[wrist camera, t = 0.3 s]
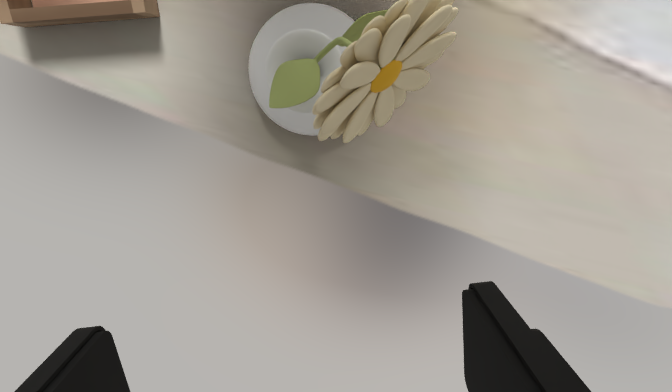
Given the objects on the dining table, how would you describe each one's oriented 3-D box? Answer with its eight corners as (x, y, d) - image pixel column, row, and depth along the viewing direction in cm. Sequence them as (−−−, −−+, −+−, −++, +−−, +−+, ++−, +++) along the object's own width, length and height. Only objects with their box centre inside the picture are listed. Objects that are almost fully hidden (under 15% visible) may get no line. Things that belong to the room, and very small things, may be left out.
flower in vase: (281, 150, 40) (215, 264, 16) (230, 35, 37) (56, -31, 13) (406, 100, 39) (531, 144, 15) (364, -23, 36) (439, -211, 12)
